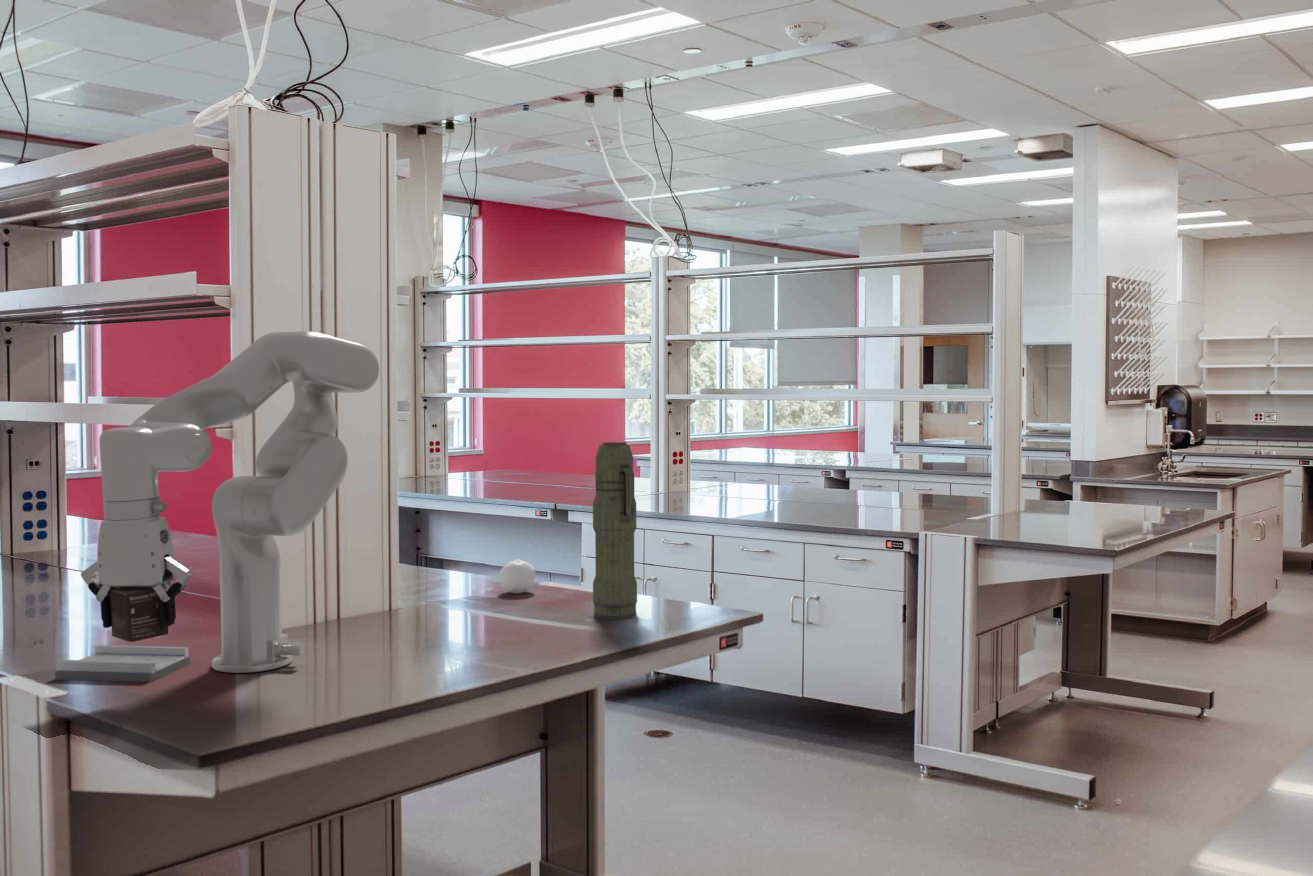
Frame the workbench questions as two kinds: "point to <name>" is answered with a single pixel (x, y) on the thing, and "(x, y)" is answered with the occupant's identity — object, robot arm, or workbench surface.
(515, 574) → the white ball
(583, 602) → the workbench surface
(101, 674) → the panel
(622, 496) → the thermos
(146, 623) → the box
